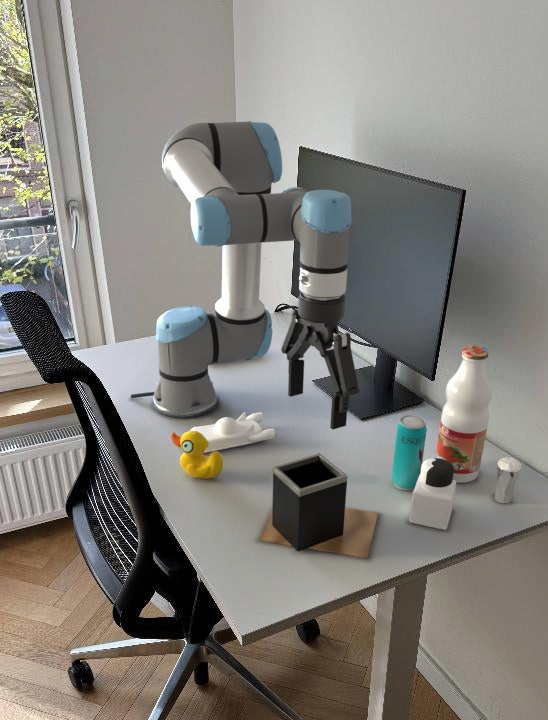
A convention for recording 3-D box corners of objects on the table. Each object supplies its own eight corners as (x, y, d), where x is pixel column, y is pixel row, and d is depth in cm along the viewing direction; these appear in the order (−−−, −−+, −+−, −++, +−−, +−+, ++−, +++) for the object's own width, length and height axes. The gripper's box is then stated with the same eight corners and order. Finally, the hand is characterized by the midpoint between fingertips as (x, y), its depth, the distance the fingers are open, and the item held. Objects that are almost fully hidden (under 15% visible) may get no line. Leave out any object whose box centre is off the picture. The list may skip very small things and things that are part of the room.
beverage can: (418, 494, 153) (426, 429, 145) (389, 490, 154) (397, 425, 146) (419, 479, 158) (428, 415, 150) (392, 475, 158) (399, 412, 151)
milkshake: (514, 509, 149) (523, 466, 144) (487, 500, 151) (495, 458, 146) (521, 498, 152) (530, 456, 147) (495, 490, 155) (503, 448, 150)
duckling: (167, 475, 156) (164, 433, 151) (179, 463, 161) (177, 422, 156) (216, 487, 153) (215, 445, 148) (228, 474, 157) (227, 433, 152)
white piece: (176, 437, 170) (174, 414, 167) (259, 424, 177) (259, 401, 174) (187, 460, 162) (186, 436, 159) (275, 445, 168) (275, 422, 165)
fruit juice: (487, 480, 158) (510, 356, 144) (447, 487, 155) (467, 362, 141) (464, 457, 166) (483, 338, 151) (425, 464, 163) (442, 343, 149)
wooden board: (259, 540, 138) (259, 538, 138) (277, 499, 150) (277, 497, 150) (367, 558, 134) (367, 556, 134) (377, 514, 146) (378, 512, 146)
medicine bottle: (451, 510, 148) (460, 458, 142) (446, 531, 142) (454, 477, 136) (415, 503, 150) (422, 451, 144) (408, 523, 144) (415, 469, 138)
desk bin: (299, 491, 129) (347, 475, 133) (273, 466, 135) (319, 452, 140) (297, 551, 135) (343, 534, 140) (272, 525, 142) (316, 510, 146)
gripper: (263, 274, 128) (262, 386, 139) (347, 322, 110) (338, 447, 121) (300, 268, 132) (296, 378, 143) (388, 314, 114) (376, 436, 124)
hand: (316, 410), depth 132 cm, fingers open, 13 cm apart
